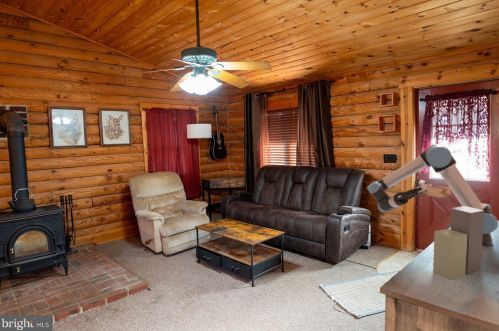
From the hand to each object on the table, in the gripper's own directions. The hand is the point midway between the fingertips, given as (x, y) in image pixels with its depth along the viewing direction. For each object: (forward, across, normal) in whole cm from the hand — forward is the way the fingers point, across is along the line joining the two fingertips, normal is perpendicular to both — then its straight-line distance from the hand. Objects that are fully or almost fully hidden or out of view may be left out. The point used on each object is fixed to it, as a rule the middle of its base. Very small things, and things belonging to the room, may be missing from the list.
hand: (429, 185), depth 168 cm
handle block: (-1, 0, -4) cm, 4 cm away
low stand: (-3, +8, -43) cm, 44 cm away
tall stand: (-3, -3, -43) cm, 43 cm away
